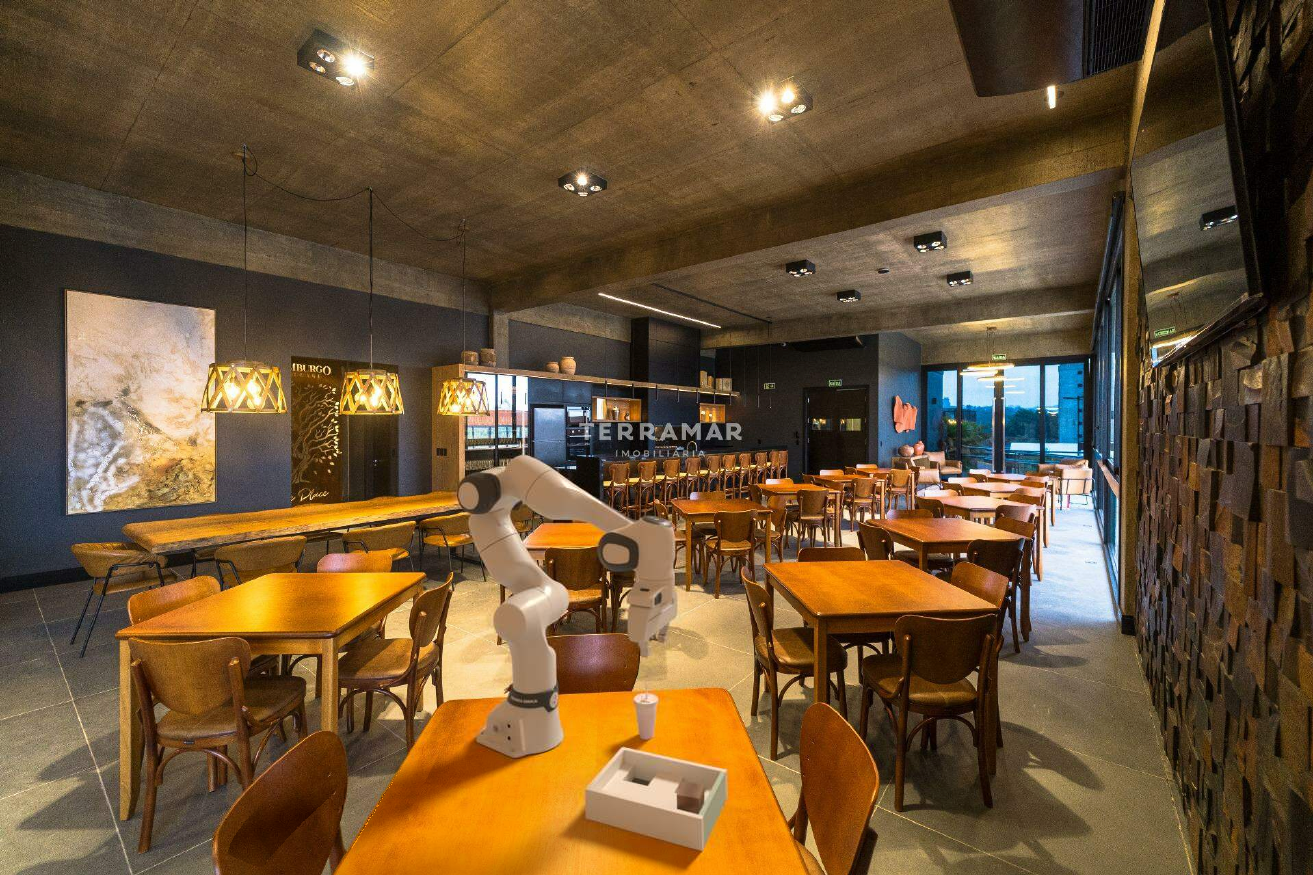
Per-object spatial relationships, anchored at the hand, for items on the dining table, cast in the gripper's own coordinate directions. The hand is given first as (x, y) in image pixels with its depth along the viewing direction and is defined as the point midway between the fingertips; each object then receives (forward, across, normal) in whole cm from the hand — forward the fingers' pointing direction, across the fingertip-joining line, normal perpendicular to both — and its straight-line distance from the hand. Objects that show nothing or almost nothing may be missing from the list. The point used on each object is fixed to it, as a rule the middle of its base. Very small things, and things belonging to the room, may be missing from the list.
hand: (654, 648), depth 130 cm
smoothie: (+30, -16, -8) cm, 35 cm away
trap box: (+29, +10, +6) cm, 31 cm away
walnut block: (+26, +13, +14) cm, 32 cm away
